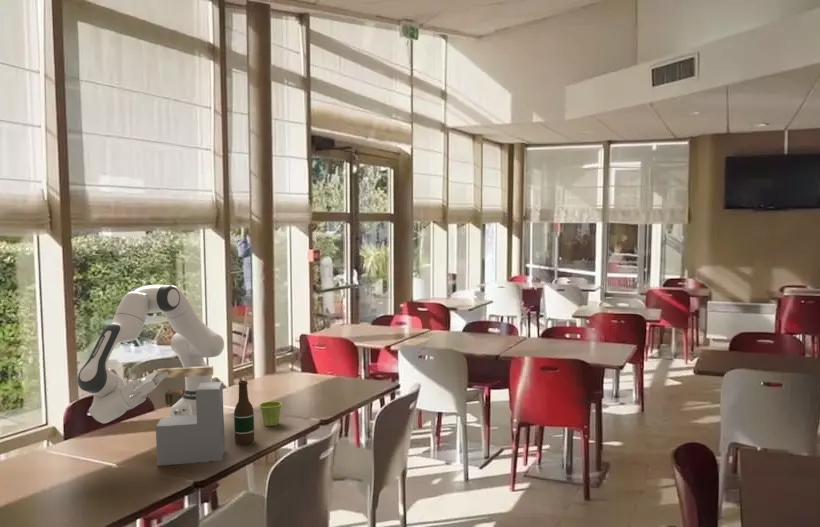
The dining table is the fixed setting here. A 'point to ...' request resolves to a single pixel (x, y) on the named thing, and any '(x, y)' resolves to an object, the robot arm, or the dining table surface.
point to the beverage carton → (173, 396)
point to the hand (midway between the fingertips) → (169, 371)
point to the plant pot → (270, 412)
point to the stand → (194, 430)
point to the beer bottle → (243, 417)
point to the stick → (187, 371)
